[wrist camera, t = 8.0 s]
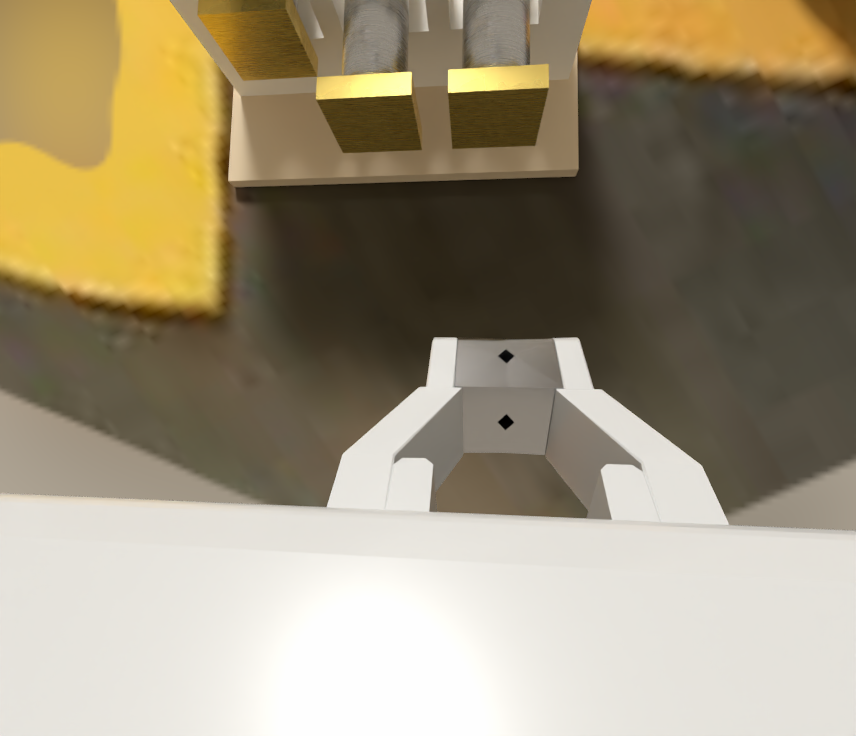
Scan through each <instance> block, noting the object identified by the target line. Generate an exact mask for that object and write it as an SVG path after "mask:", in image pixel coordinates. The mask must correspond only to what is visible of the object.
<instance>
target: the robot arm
mask: <svg viewBox="0 0 856 736" xmlns="http://www.w3.org/2000/svg"><path fill="white" fill-rule="evenodd" d="M463 453H519V454H537V455H545V457H546V458H547V460H548V461H549V462H550V463H551V465H552V466H553V467H554V468H555V470H556V471H557V472H558V473H559V475H560V476H561V477H562V478H563V480H564V481H565V482H566V483H567V485H568V486H569V487H570V488H571V490H572V491H573V492H574V493H575V495H576V496H577V497H578V498H579V500H580V501H581V502H582V503H583V505H584V506H585V507H586V508H587V510H588V514H587V518H586V519H585V518H562V517H539V516H516V515H493V514H471V513H448V512H437V504H436V491H437V490H438V488H439V487H440V486H441V484H442V483H443V482H444V480H445V479H446V477H447V476H448V475H449V473H450V472H451V471H452V469H453V468H454V467H455V465H456V464H457V463H458V461H459V460H460V458H461V457H462V456H463ZM0 736H856V531H855V530H832V529H810V528H786V527H765V526H742V525H729V523H728V521H727V519H726V517H725V515H724V513H723V511H722V508H721V506H720V504H719V502H718V500H717V498H716V495H715V493H714V491H713V489H712V487H711V485H710V482H709V480H708V478H707V476H706V474H705V472H704V469H703V467H702V465H700V464H699V463H698V462H696V461H695V460H694V459H692V458H691V457H690V456H688V455H687V454H686V453H684V452H683V451H682V450H680V449H679V448H678V447H677V446H675V445H674V444H673V443H671V442H670V441H669V440H667V439H666V438H665V437H663V436H662V435H661V434H659V433H658V432H657V431H655V430H654V429H653V428H651V427H650V426H649V425H648V424H646V423H645V422H644V421H642V420H641V419H640V418H638V417H637V416H636V415H634V414H633V413H632V412H630V411H629V410H628V409H626V408H625V407H624V406H623V405H621V404H620V403H619V402H617V401H616V400H615V399H613V398H612V397H611V396H609V395H608V394H607V393H605V392H604V391H603V390H600V389H594V387H593V384H592V381H591V377H590V374H589V370H588V367H587V363H586V360H585V357H584V353H583V350H582V346H581V343H580V340H579V339H578V338H577V337H576V338H552V339H498V338H458V339H457V338H447V337H434V339H433V341H432V347H431V355H430V362H429V369H428V376H427V384H426V387H419V388H417V389H416V390H415V391H414V392H413V393H412V394H411V395H409V396H408V397H407V398H406V399H405V400H404V401H403V402H401V403H400V404H399V405H398V406H397V407H396V408H395V409H393V410H392V411H391V412H390V413H389V414H388V415H387V416H386V417H384V418H383V419H382V420H381V421H380V422H379V423H378V424H376V425H375V426H374V427H373V428H372V429H371V430H370V431H368V432H367V433H366V434H365V435H364V436H363V437H362V438H360V439H359V440H358V441H357V442H356V443H355V444H354V445H352V446H351V447H350V448H349V449H348V450H347V451H346V452H344V453H343V455H342V459H341V462H340V465H339V468H338V472H337V475H336V478H335V482H334V485H333V488H332V492H331V495H330V498H329V501H328V505H327V507H311V506H288V505H265V504H243V503H219V502H197V501H196V502H194V501H174V500H151V499H129V498H105V497H83V496H59V495H58V496H57V495H37V494H14V493H0Z"/></svg>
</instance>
